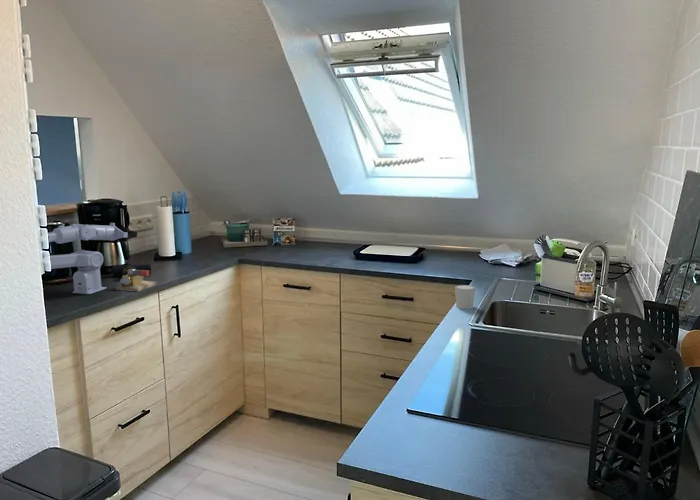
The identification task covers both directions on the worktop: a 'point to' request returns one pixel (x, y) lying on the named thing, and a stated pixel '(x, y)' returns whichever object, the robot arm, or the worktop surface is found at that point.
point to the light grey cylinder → (464, 296)
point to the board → (137, 286)
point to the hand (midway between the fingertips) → (129, 233)
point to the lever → (138, 272)
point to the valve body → (131, 280)
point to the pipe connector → (123, 269)
